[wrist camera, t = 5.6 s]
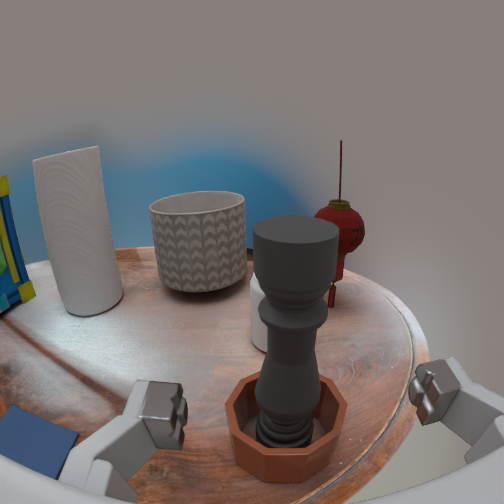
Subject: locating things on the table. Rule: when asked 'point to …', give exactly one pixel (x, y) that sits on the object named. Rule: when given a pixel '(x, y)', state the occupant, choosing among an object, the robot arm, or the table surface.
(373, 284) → the table surface
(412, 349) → the table surface
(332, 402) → the terracotta pot
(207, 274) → the planter
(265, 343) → the beverage can
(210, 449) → the table surface
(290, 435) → the candle holder
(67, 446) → the blue cloth
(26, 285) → the decorative book
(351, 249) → the lantern
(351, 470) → the table surface
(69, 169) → the vase
